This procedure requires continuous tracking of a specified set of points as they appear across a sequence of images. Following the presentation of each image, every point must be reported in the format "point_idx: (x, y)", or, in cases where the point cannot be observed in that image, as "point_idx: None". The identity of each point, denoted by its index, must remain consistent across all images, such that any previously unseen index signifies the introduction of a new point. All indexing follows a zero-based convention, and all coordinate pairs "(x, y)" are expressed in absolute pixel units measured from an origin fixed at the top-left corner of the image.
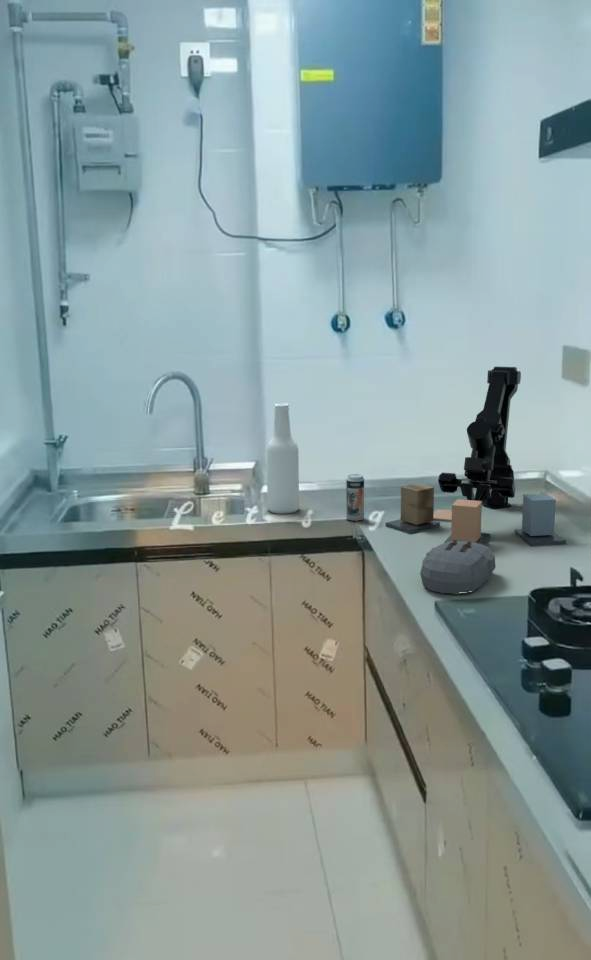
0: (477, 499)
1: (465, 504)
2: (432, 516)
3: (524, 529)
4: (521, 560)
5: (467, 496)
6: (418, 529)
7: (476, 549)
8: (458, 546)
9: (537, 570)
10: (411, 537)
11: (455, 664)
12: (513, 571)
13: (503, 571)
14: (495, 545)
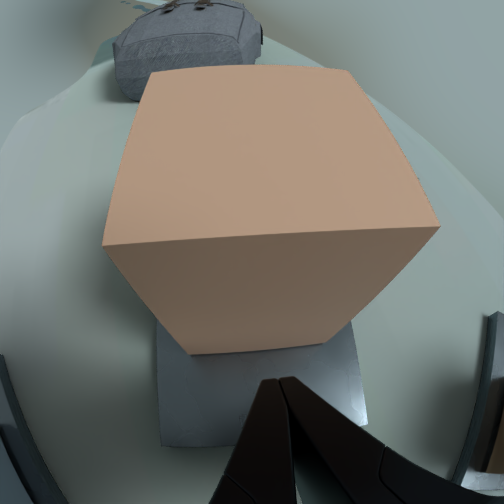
0: (233, 484)
1: (261, 87)
2: (501, 468)
3: (22, 494)
4: (42, 198)
5: (415, 474)
6: (489, 358)
7: (150, 15)
8: (187, 1)
9: (27, 156)
10: (465, 282)
11: (164, 2)
12: (76, 128)
13: (98, 119)
14: (116, 325)
